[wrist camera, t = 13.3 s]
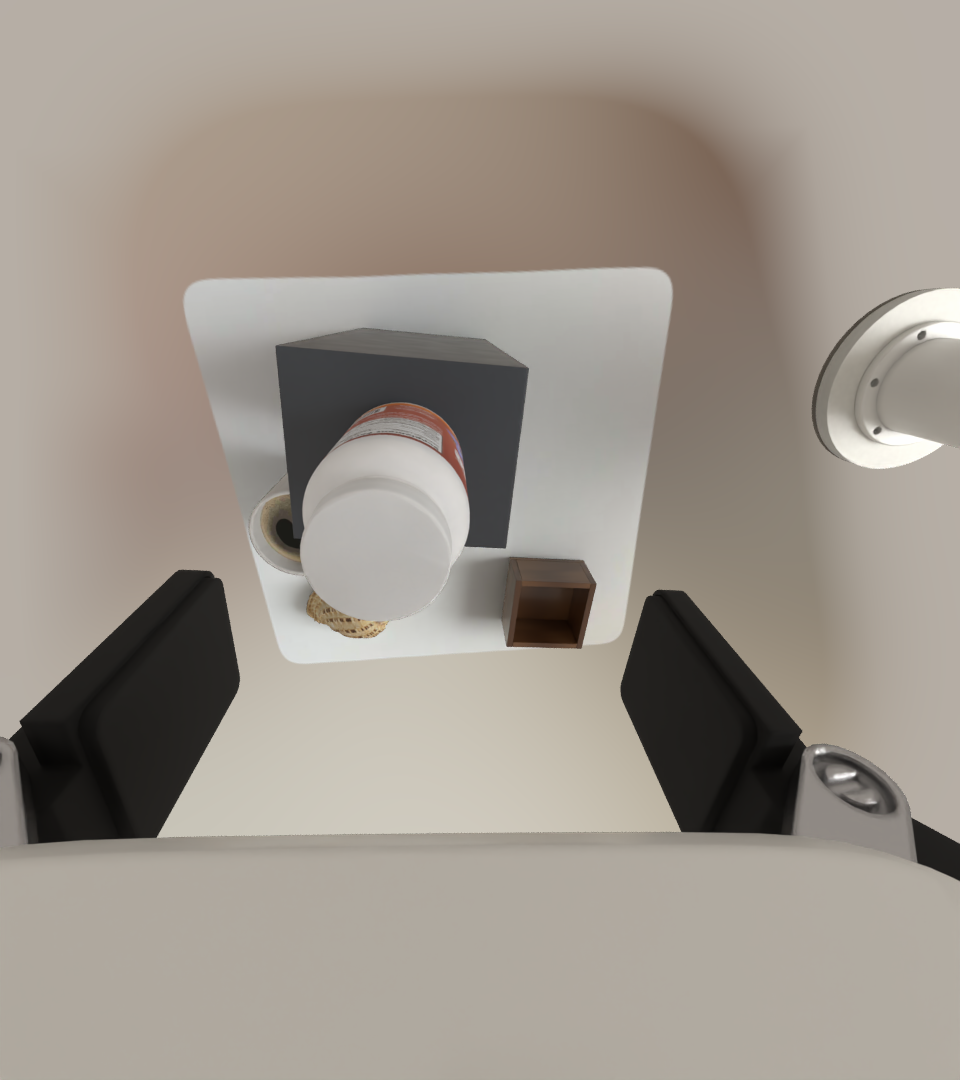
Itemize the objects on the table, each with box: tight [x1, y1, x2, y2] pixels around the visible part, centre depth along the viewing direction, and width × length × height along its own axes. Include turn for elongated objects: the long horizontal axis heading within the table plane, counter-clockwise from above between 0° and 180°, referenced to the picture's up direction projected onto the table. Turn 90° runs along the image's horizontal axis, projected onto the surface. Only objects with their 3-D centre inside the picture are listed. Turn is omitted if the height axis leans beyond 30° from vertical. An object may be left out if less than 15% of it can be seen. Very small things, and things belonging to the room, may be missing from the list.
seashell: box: [306, 591, 389, 638], centre depth 56 cm, size 8×6×10 cm
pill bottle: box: [300, 402, 470, 622], centre depth 19 cm, size 6×6×11 cm
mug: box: [249, 473, 305, 576], centre depth 48 cm, size 11×10×10 cm
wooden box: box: [502, 557, 596, 649], centre depth 57 cm, size 9×9×6 cm
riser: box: [276, 328, 529, 548], centre depth 36 cm, size 12×10×26 cm
